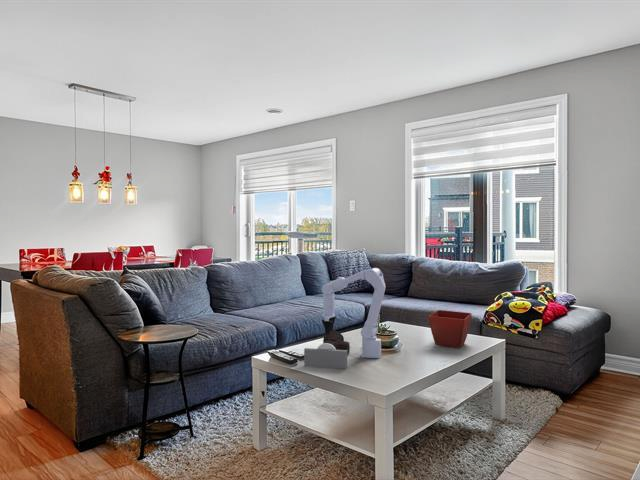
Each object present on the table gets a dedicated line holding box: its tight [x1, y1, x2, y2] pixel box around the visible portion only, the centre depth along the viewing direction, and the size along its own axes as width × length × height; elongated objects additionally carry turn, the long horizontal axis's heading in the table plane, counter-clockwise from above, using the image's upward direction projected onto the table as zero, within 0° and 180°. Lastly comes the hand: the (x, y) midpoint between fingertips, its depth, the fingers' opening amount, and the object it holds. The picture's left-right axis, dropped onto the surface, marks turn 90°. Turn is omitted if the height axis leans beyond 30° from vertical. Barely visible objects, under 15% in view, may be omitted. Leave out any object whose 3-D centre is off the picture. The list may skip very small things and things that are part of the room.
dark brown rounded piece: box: [322, 330, 351, 356], centre depth 241 cm, size 10×15×15 cm
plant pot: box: [428, 309, 473, 349], centre depth 254 cm, size 19×19×17 cm
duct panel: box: [303, 343, 348, 370], centre depth 216 cm, size 20×3×10 cm, turn 78°
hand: (329, 332), depth 242 cm, fingers open, 7 cm apart
